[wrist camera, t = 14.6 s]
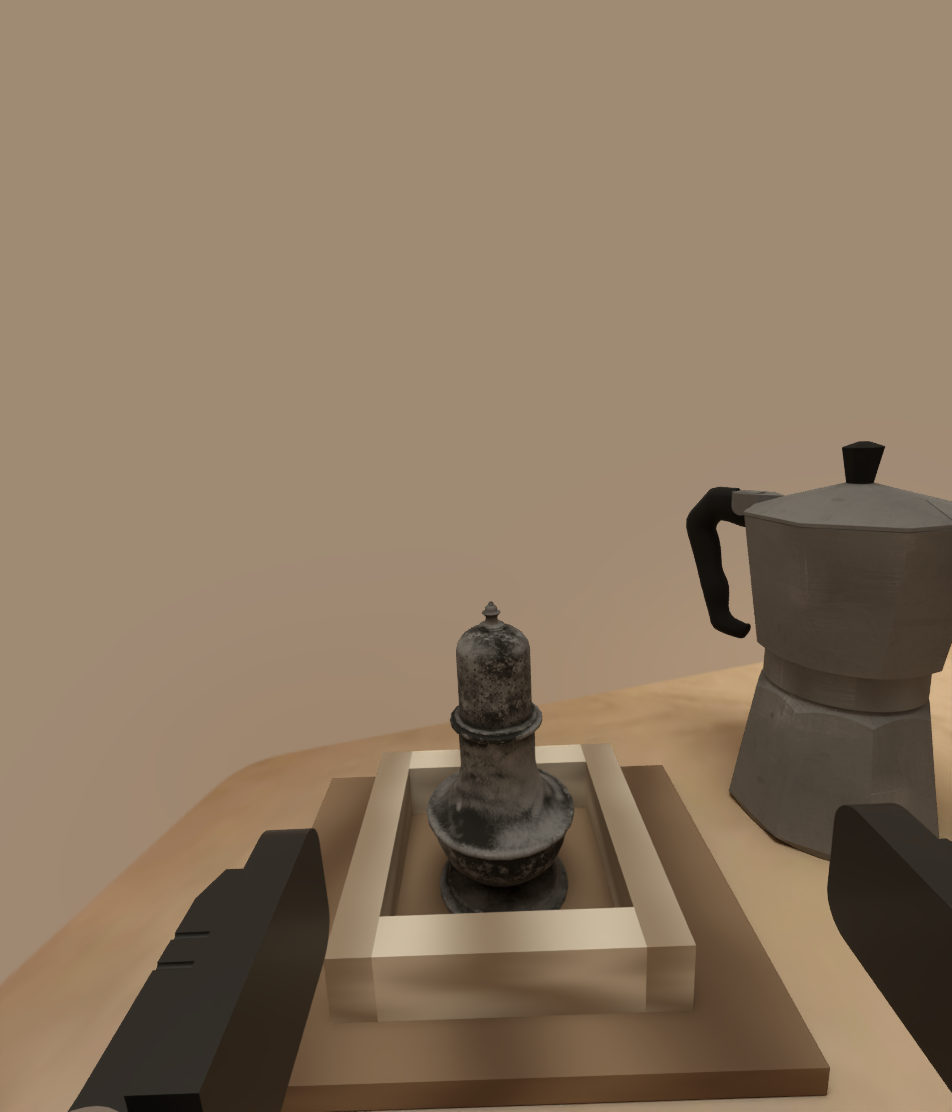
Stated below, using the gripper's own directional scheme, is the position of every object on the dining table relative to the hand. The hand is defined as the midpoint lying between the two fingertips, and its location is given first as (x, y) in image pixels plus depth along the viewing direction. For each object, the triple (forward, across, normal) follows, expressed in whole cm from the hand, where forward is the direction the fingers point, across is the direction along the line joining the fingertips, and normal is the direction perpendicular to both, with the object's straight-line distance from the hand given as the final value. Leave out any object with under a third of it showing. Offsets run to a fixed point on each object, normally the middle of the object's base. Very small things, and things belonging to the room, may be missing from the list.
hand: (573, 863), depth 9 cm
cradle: (+12, +1, +13) cm, 18 cm away
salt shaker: (+12, +1, +12) cm, 17 cm away
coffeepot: (+18, -15, +13) cm, 27 cm away
